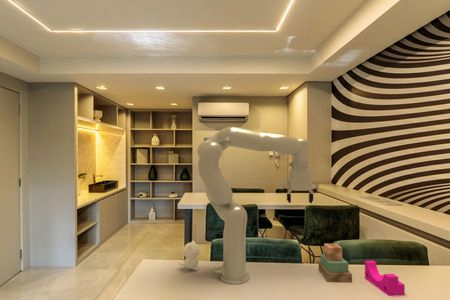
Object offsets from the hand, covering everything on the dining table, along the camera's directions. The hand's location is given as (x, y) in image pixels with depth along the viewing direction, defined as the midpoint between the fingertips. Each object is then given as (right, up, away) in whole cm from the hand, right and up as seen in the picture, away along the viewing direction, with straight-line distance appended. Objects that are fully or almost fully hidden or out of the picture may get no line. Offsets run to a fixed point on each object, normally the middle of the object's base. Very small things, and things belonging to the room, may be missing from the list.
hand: (299, 202), depth 129 cm
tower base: (+13, -31, -8) cm, 34 cm away
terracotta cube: (+12, -23, -8) cm, 27 cm away
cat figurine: (-52, -31, -1) cm, 60 cm away
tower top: (+12, -27, -8) cm, 31 cm away
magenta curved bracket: (+28, -31, -18) cm, 45 cm away
